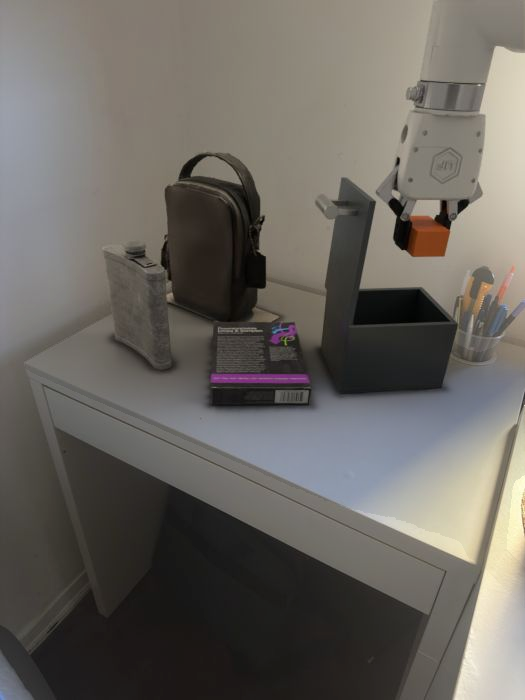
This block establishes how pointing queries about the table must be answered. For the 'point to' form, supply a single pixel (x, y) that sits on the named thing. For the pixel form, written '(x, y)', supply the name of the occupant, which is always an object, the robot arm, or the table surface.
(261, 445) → the table surface
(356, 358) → the bin
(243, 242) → the shoulder bag
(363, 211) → the bin lid
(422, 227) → the orange rectangular block
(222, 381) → the box
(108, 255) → the flask
